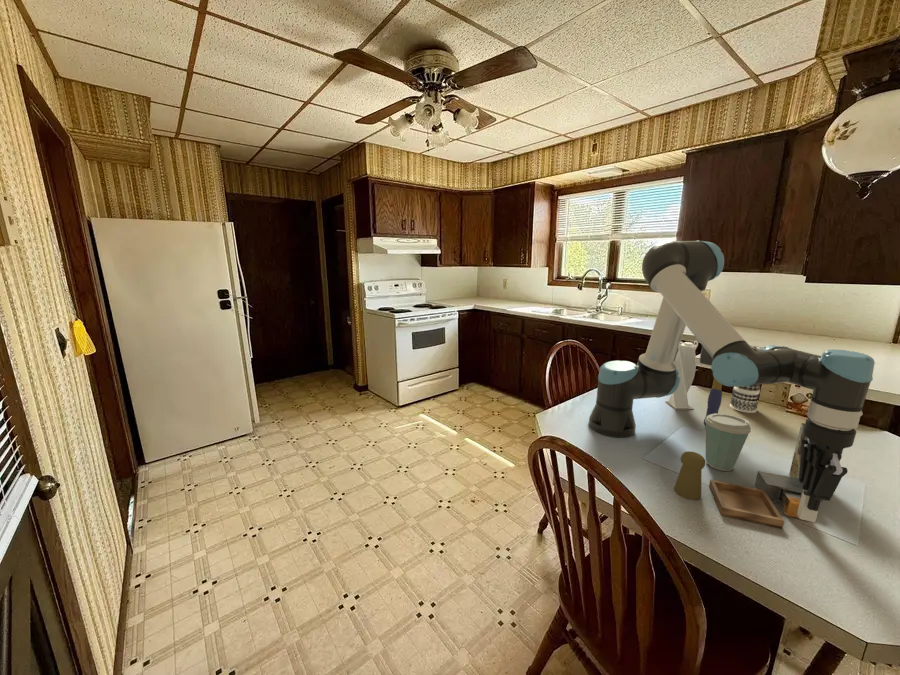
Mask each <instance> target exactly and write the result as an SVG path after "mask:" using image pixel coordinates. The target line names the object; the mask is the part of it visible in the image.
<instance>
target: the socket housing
mask: <svg viewBox="0 0 900 675" xmlns="http://www.w3.org/2000/svg"><path fill="white" fill-rule="evenodd" d="M754 488H755V489H760V490H764V491H765V492H766V493H767V495H768V496H769V498H770V499H771V501H773V503H777V502H778V503H779V502H780V501H779V497H780V493H781V489H784V490H789V491H794V492H798V494H799V495H800V496H802V492H803V490H804V489H803V488H802V482H800V481H799V478H794V477H790V476H789V475H788V476H787V475H782V474H776V473H771V472H766V471H760V470H757V475H756V478H755V483H754Z"/></svg>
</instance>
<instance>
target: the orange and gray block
mask: <svg viewBox="0 0 900 675" xmlns="http://www.w3.org/2000/svg"><path fill="white" fill-rule="evenodd" d="M800 500H801V496H800V495H799V494H798V492H794V491H789V490H784V489H781V493H780V497H779V501H778V502H780V504H781V505H782V507H783V513H784V514H785V516H788V517H793V518H795V519H796V518H797V519H799V517H798V516H797V512H798V508H799V504H800Z"/></svg>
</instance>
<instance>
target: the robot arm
mask: <svg viewBox="0 0 900 675" xmlns="http://www.w3.org/2000/svg"><path fill="white" fill-rule="evenodd" d="M724 265H725V256H724V253H723V252H722V249H721V248H720V247H719V245H717V244H716V243H714V242H711V241H704V240H677V241H675V240H666V241H662V242H659V243H657V244H655V245H653V246H652V247H650V249H649V250H648V251H646V253H645V255H644V257H643V259H642V263H641V271H642V276H643V278H644V280H645V282H646V283H647V285H648V286H649V287H650V289H651V290H652V291H654V292H658V293H660V294H661V296H662V300H661V302H660V307H659V310H658V313H657V316H656V320H655V323H654V325H653V328H652V332H651V335H650V339H649V341H648V345H647V348H646V349H645V350H646V351H645V353H642V354H640V355H639V357H638V359H637V363H634V362H631V361H629V360H619V359H618V360H610V361H606V362H604V363H603V364H602V365H600V367H599V373H598V376H597V379H598V381H597V388H596V390H597V391H596V400H595V401H596V402H595V405H594V407H593V409H592V411H591V413H590V415H589V416H588V417H589V418H588V426H589V425H590V426H589V427H590V428H591V429H592V430H593V431H595V432H597V433H599V434H601V435H604V436H608V437H613V438H628V437H631V436H633V435H635V433H636V429H637V428H636V427H637V426H636V420H635V416H634V413H633V412H634V411H633V408H634V407H633V406H634V405H633V404H634V400H638V399H639V400H640V399H641V400H642V399H650V398H663V397H667V396H670V395H672V393H674V392H675V391H676V389H677V388H678V386H679V382H680V377H678V375H679V372H678V370H677V369H676V368H677V366H676V364H675V362H674V361H675V358H676V355H677V352H678V350H679V349H678V347H679V344H681V343H680V342H681V341H682V337H683V335H684V332H685V330H686V327H687V328H688V330H689V331H690V332H691V333H692V334H693V336H694V337H695V338H696V339H697V341H698V343H700V345H701V347H702V346H703V347H704V348H705V349H706V351H707V352H708V353H709V354H710V356H711V357H712V358H713V359H714V360H713V362H712V365H710V369H711V371H712V376H713V379H714V378H715V379H716V380H717V381H718V382H719V383H721V384H722V386H726V387H732V388H734V387H747V386H750V385H759V384H760V385H769V384H771V385H772V384H781V383H782V384H784V383H787V384H788V383H789V384H793V385H796V386H800V387H803V388H805V389H809V390H812V395H811V398H810V400H809V401H810V402H809V406H808V409H807V413H806V416H807V417H808V418H806V419H805V427H804V431H803V433H804V435H805V436H806V437H807V438H809V440H807V439H802V440H801V444H802V453H801V462H800V472H799V481H800V482H802V488H803V489H804V490H803V492H802V496H801V500H800V504H799V508H798V512H797V516H798V517H799V518H798V519H799V520H804V521H808V522H812V523H816V521H817V518H818V514H819V509H820V506H821V503H822V501H825V502H830V501H831V499H832V497H833V495H834V494H835V492H836V489H837V488H838V486H839V484H840V482H841V481H842V478H843V477H844V476H845V475H847V473H848V468H847V467H845V466H842V465H841V460H842V455H841V452H842V453H843V451H841V450H842V449H843V450H844V449H847V448H851V447H853V445H854V441H855V438H856V434H857V431H856V429H857V428H858V427H859V423H860V419H861V417H862V416H863V414H864V413H863V409H864V404H865V401H866V399H867V395H868V391H869V387H870V385H871V383H872V382H873V380H874V378H873V374H874V370H875V365H876V362H875V359H874V358H873V357H872V356H870V355H868V354H865V353H862V352H859V351H853V350H851V351H850V350H846V349H827V350H824V351H823V352H822V353H821V355H818V354H813V353H809V352H806V351H801V350H797V349H794V348H790V347H787V346H779V345H776V344H768V345H764V346H763V347H762V348H763V349H760V350H759V351H754V350H753V348H752V347H751V346H752V345H750V344H749V343H748V342H747V341H746V340H745V339H744V338H743V337H742V335H741V334H740V333H739V332H738V331H737V330H736V329H735V327H733V325H732V324H731V323H730V322H729V321H728V320H727V319H726V317H725V316H724V315H723V314H722V313H721V312H720V311H719V309H718V308H716V306H715V305H714V304H713V303H712V302H711V301H710V300H709V298H707V297H706V295H705V294H704V293H703V292H705V290H706V289H707V286H708V283H709V282H710V281H713V280H714V279H716V278H718V277H719V276H720V274H722V272H723V270H724ZM839 461H840V462H839Z"/></svg>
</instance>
